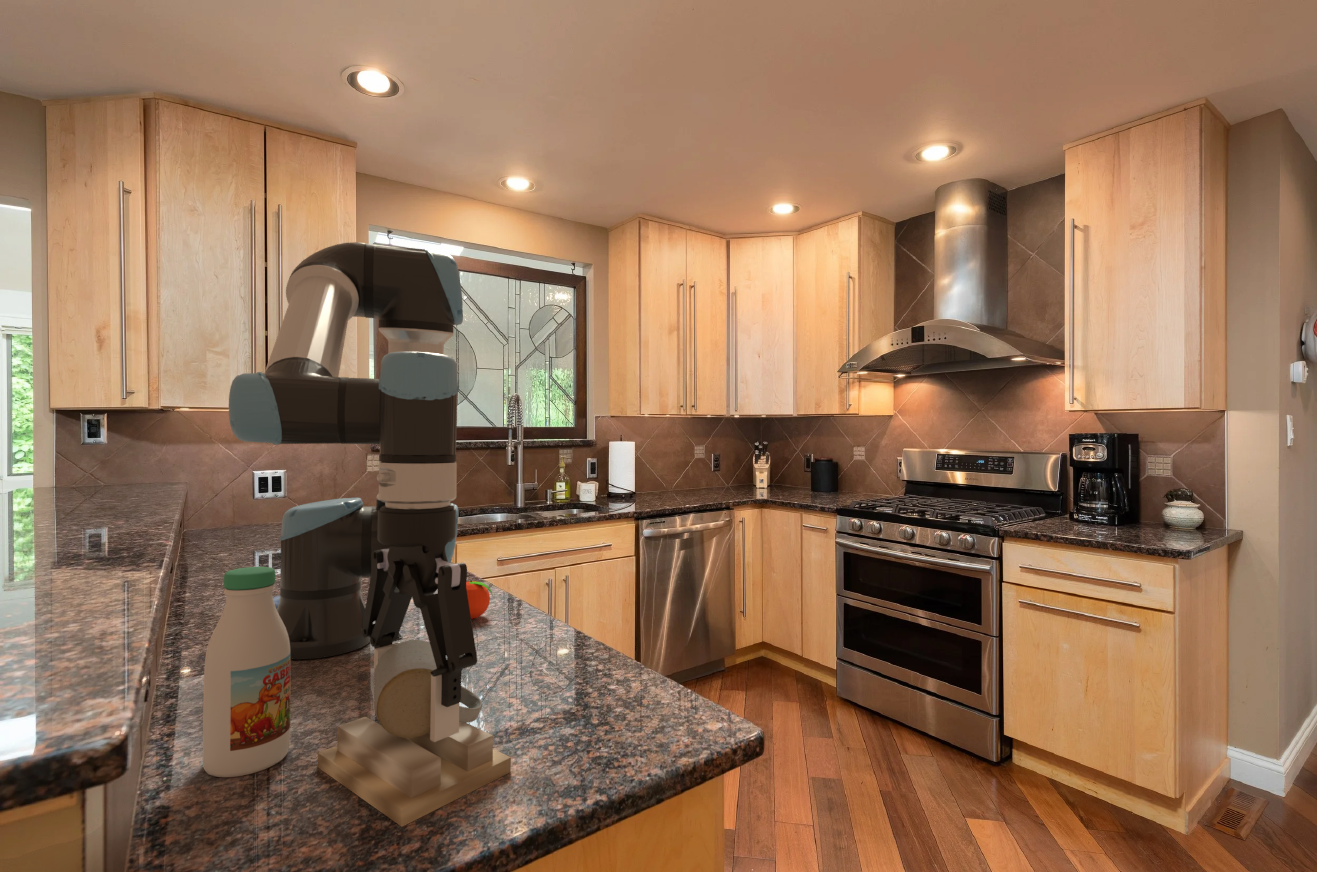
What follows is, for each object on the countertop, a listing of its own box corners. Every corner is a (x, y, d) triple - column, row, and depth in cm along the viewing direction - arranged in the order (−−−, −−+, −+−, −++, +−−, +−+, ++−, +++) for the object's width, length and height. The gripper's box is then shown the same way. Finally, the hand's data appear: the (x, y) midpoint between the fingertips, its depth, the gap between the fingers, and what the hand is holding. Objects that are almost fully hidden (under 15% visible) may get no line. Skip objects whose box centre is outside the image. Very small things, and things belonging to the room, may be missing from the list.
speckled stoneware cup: (372, 749, 61) (375, 667, 61) (372, 714, 68) (374, 641, 68) (487, 732, 65) (490, 655, 65) (475, 701, 73) (477, 632, 73)
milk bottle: (193, 786, 63) (196, 580, 63) (212, 750, 70) (214, 565, 70) (284, 770, 66) (287, 574, 66) (293, 737, 73) (296, 560, 73)
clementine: (501, 615, 123) (502, 578, 123) (483, 625, 117) (484, 586, 117) (463, 612, 125) (464, 575, 125) (443, 621, 118) (444, 583, 118)
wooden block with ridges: (317, 766, 67) (318, 728, 67) (422, 726, 76) (423, 692, 76) (401, 826, 57) (402, 781, 57) (510, 771, 66) (511, 732, 66)
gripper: (328, 498, 70) (325, 702, 70) (450, 516, 57) (446, 771, 56) (393, 494, 76) (390, 682, 76) (518, 509, 62) (514, 740, 62)
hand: (414, 720), depth 66 cm, fingers closed on speckled stoneware cup, 10 cm apart
